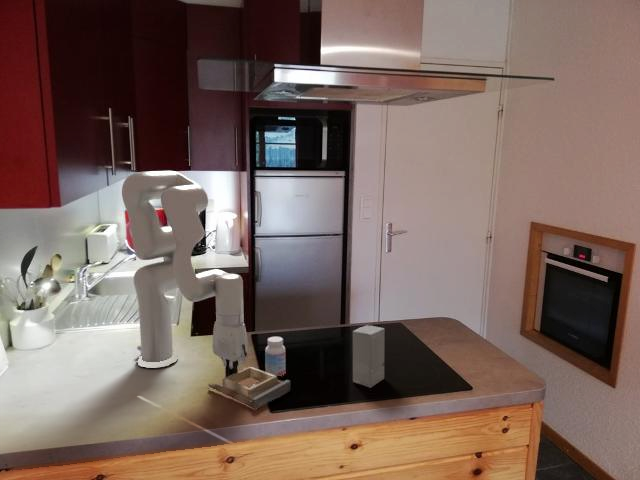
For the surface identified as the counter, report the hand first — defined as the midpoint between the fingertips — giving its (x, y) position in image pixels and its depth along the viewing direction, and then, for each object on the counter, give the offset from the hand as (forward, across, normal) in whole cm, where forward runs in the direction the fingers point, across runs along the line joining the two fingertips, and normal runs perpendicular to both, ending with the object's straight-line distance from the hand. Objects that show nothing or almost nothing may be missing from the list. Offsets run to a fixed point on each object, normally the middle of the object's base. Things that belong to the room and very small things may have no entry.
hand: (231, 379), depth 146 cm
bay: (+2, +7, 0) cm, 7 cm away
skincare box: (+2, +29, +27) cm, 40 cm away
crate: (+1, +7, 0) cm, 8 cm away
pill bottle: (+2, +5, +13) cm, 14 cm away
